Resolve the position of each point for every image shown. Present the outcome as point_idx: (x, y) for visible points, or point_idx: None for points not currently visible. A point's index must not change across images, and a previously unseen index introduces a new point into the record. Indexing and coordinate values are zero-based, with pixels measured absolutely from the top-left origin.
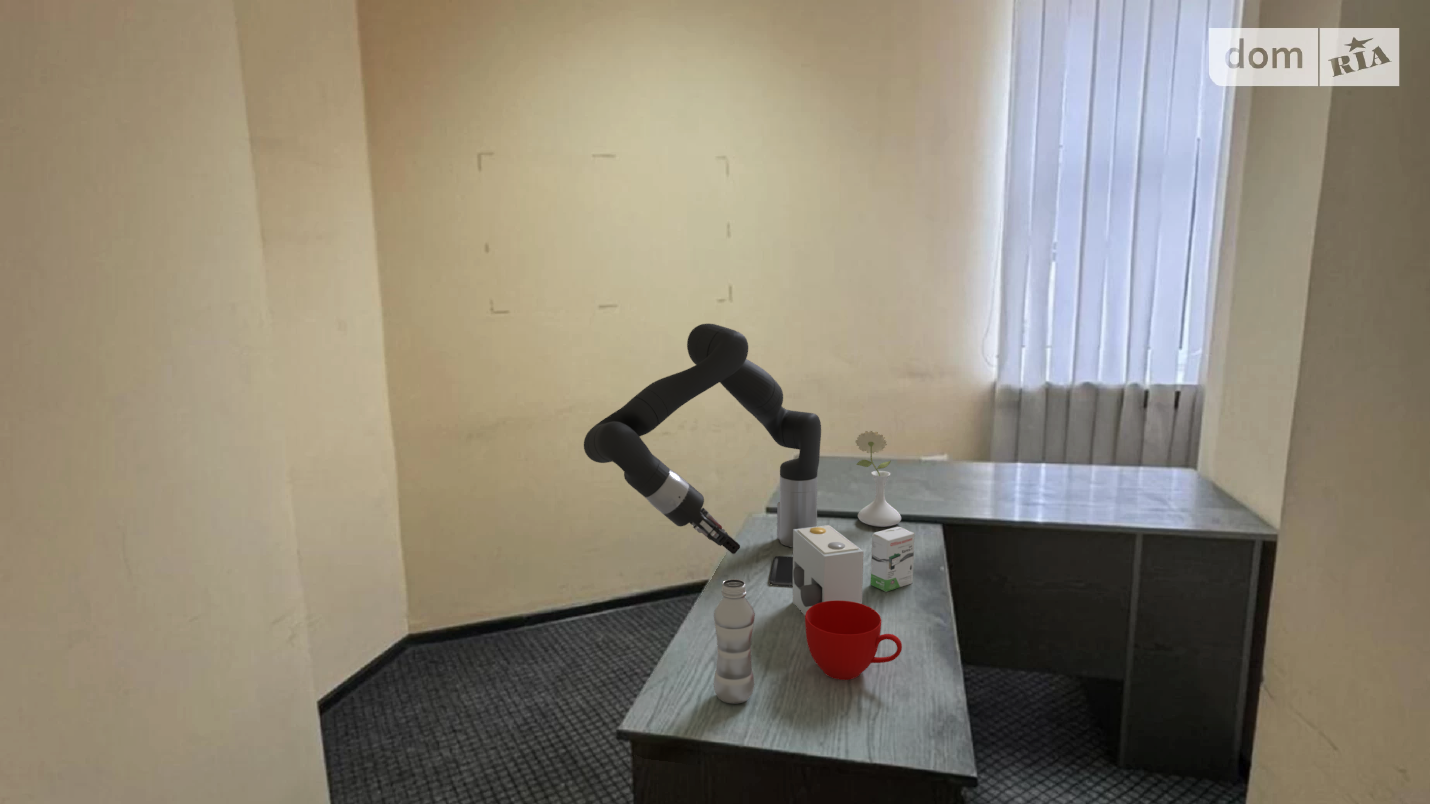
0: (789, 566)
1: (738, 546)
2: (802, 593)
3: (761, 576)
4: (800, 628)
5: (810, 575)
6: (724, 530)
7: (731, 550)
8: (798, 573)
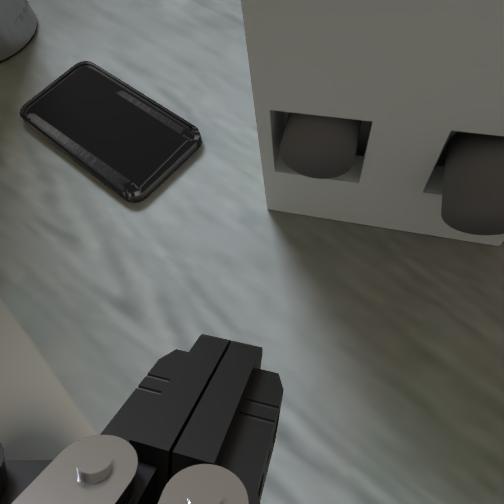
0: (91, 112)
1: (259, 363)
2: (465, 209)
3: (77, 196)
4: (426, 275)
5: (440, 127)
6: (112, 462)
7: (272, 448)
8: (330, 143)
